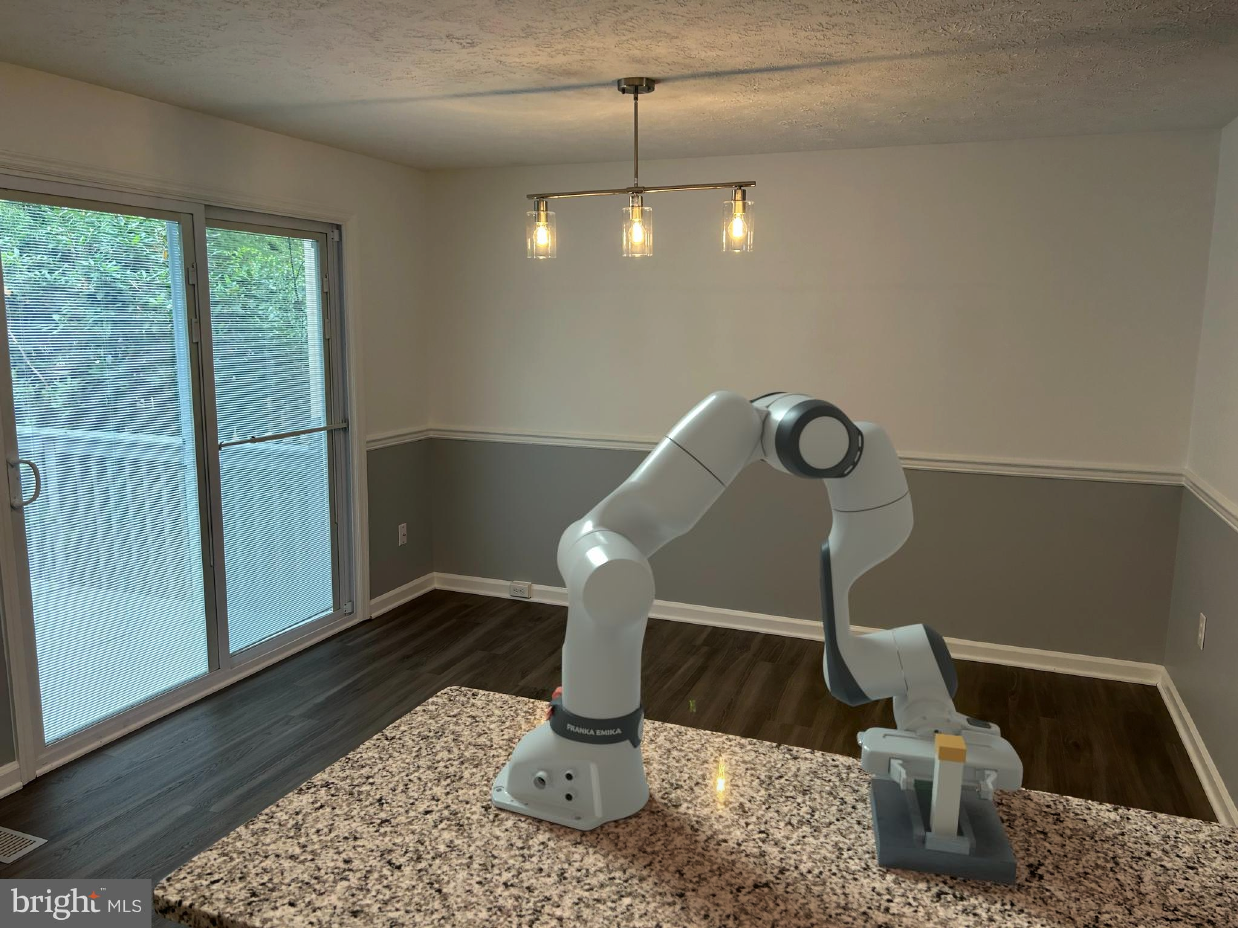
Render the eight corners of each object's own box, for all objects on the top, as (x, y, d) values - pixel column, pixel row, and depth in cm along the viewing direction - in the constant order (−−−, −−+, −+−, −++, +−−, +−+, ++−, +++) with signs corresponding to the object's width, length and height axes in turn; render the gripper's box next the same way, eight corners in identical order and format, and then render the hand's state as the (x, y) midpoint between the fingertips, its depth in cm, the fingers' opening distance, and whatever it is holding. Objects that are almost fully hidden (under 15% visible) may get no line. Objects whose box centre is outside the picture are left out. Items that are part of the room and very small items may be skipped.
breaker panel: (878, 865, 109) (881, 830, 108) (869, 797, 124) (872, 766, 124) (1014, 884, 106) (1018, 849, 105) (988, 812, 121) (991, 780, 120)
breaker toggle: (931, 837, 110) (939, 746, 107) (927, 822, 113) (935, 733, 111) (958, 841, 109) (966, 749, 107) (953, 826, 112) (962, 736, 110)
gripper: (857, 709, 124) (863, 756, 111) (1010, 725, 120) (1035, 777, 107) (854, 750, 125) (860, 801, 112) (1005, 768, 121) (1030, 823, 108)
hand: (947, 790), depth 109 cm, fingers open, 8 cm apart
